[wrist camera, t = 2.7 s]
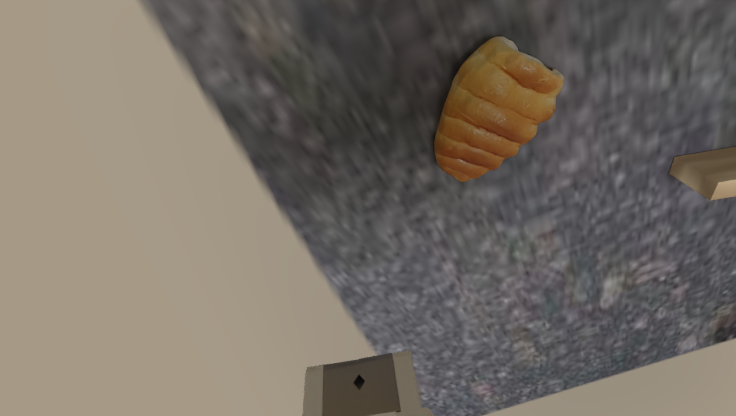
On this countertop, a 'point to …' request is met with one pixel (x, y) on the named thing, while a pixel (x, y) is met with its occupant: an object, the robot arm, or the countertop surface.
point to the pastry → (493, 108)
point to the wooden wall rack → (708, 172)
